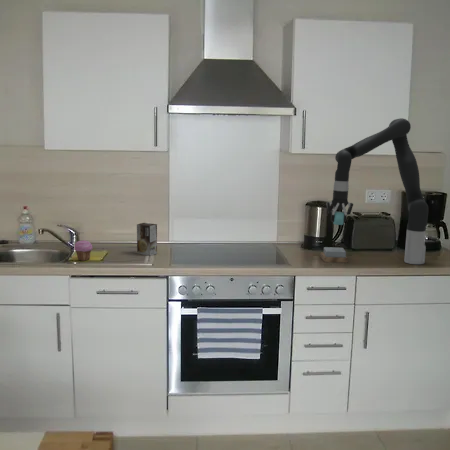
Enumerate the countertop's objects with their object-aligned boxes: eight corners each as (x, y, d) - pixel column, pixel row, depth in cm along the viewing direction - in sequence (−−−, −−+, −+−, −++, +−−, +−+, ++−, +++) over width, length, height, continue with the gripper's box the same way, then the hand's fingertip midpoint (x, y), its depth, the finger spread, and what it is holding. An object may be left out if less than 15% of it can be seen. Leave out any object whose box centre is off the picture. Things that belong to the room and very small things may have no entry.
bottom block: (342, 258, 292) (342, 252, 292) (347, 263, 280) (347, 257, 280) (319, 257, 292) (320, 252, 291) (324, 263, 280) (324, 257, 280)
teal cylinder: (342, 223, 284) (342, 211, 283) (344, 225, 279) (345, 213, 278) (332, 222, 284) (333, 211, 283) (334, 224, 279) (335, 213, 278)
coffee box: (157, 253, 290) (157, 224, 288) (150, 255, 285) (149, 225, 282) (144, 251, 295) (144, 222, 292) (136, 253, 290) (136, 223, 287)
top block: (342, 253, 290) (342, 247, 290) (345, 257, 280) (345, 251, 280) (323, 252, 291) (323, 247, 290) (326, 257, 281) (326, 251, 280)
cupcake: (84, 262, 268) (83, 242, 266) (70, 260, 272) (70, 240, 270) (96, 259, 276) (95, 239, 274) (83, 257, 280) (82, 238, 278)
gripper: (352, 189, 283) (350, 221, 286) (325, 188, 282) (323, 220, 285) (356, 191, 275) (353, 223, 278) (328, 189, 275) (326, 222, 278)
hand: (338, 222), depth 282 cm, fingers closed on teal cylinder, 5 cm apart
